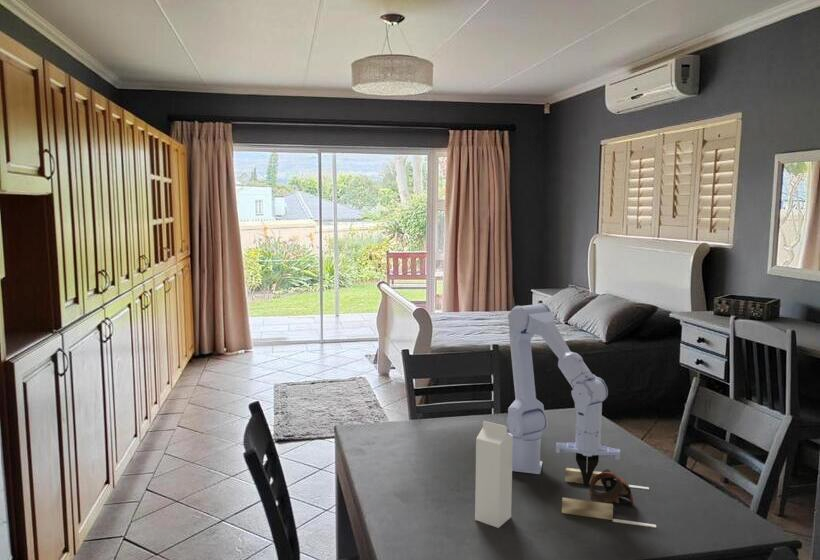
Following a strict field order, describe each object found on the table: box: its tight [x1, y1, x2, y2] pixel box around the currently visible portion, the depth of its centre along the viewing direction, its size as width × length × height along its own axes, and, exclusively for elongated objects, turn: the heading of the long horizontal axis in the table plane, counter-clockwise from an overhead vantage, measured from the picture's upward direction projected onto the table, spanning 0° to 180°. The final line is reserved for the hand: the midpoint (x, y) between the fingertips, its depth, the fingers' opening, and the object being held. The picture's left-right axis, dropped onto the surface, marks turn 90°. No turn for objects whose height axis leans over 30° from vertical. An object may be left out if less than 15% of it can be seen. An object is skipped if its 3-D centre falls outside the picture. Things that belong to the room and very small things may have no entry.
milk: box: [474, 420, 513, 529], centre depth 135 cm, size 6×6×22 cm
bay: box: [612, 484, 657, 528], centre depth 143 cm, size 9×20×1 cm, turn 163°
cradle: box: [561, 467, 614, 521], centre depth 146 cm, size 11×18×3 cm, turn 163°
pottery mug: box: [589, 468, 635, 508], centre depth 144 cm, size 12×10×8 cm
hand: (586, 484), depth 146 cm, fingers closed
